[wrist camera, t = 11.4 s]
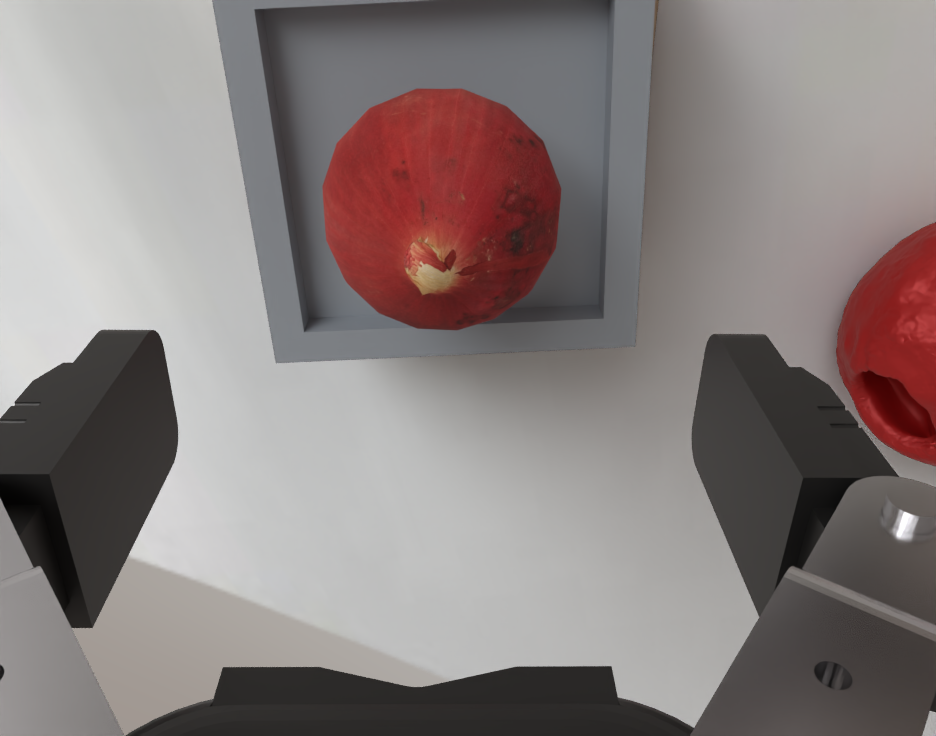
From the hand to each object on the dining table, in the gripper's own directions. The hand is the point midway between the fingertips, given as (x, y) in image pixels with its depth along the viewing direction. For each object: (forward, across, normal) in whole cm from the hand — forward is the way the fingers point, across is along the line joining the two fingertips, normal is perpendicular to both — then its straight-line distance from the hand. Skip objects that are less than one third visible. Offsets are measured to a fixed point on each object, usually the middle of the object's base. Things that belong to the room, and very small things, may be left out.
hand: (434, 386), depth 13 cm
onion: (+13, 0, 0) cm, 13 cm away
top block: (+16, 0, 0) cm, 16 cm away
